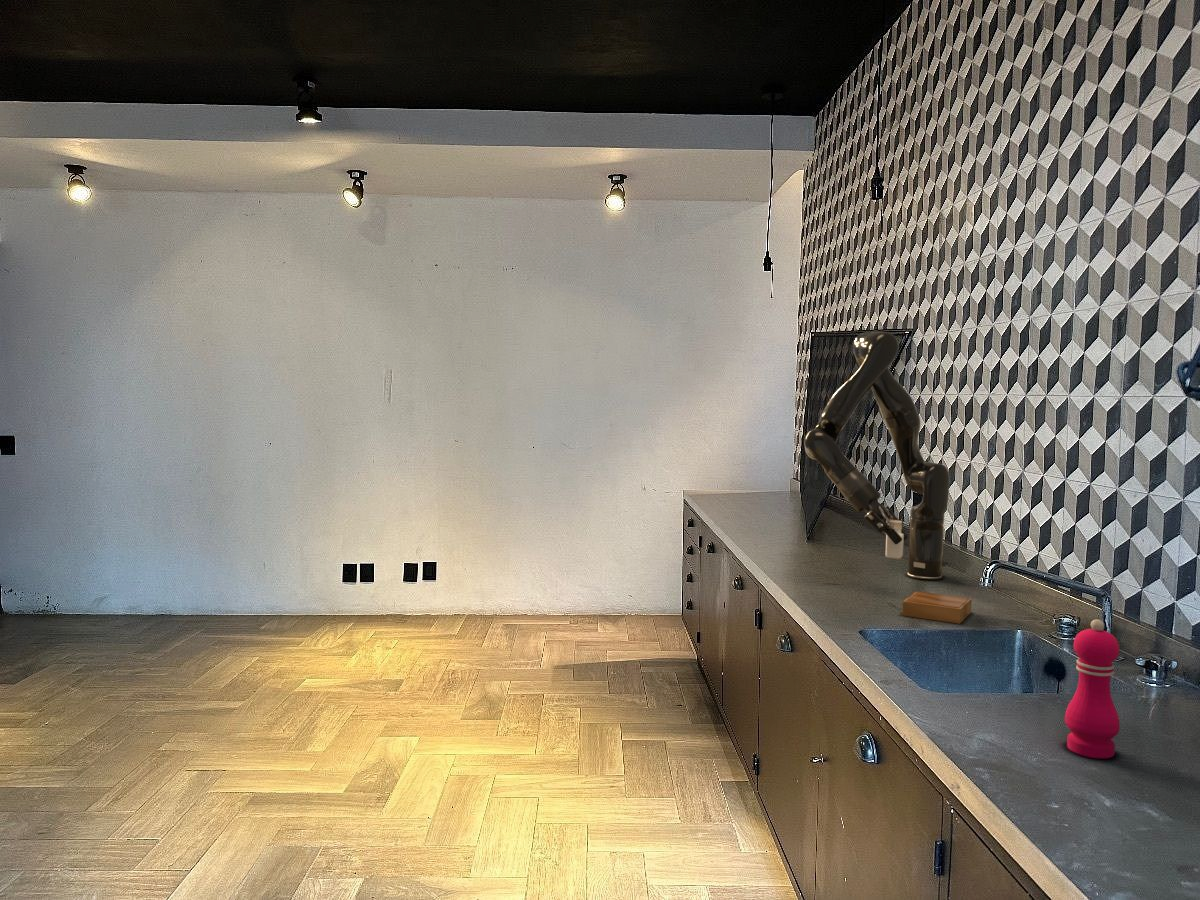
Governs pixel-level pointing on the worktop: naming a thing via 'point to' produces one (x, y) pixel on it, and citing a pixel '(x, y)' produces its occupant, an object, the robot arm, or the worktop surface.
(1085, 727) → the pepper mill
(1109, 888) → the worktop surface
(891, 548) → the pepper shaker
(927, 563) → the robot arm
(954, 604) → the riser
